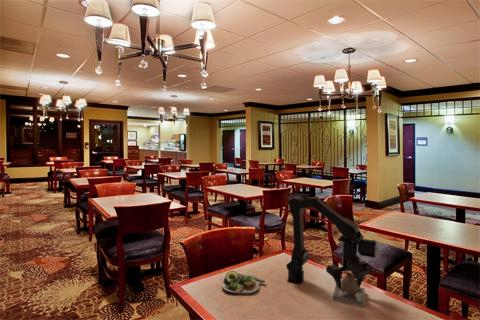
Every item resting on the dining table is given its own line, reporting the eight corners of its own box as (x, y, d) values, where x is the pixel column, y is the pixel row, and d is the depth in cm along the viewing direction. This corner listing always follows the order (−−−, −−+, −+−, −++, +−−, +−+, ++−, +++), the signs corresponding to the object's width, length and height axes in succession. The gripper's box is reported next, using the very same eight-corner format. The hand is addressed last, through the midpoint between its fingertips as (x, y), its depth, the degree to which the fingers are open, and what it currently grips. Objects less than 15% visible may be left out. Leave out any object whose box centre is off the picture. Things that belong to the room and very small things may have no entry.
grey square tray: (332, 299, 117) (332, 295, 117) (335, 286, 128) (335, 282, 128) (363, 307, 112) (363, 302, 112) (364, 292, 123) (364, 288, 123)
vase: (361, 295, 119) (362, 275, 118) (350, 300, 115) (350, 279, 115) (348, 288, 125) (348, 268, 124) (336, 292, 121) (337, 272, 121)
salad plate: (264, 276, 138) (264, 267, 138) (265, 296, 121) (265, 286, 120) (225, 275, 140) (225, 266, 139) (220, 295, 122) (220, 284, 122)
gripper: (341, 262, 109) (340, 301, 110) (382, 257, 113) (381, 295, 114) (325, 251, 120) (325, 287, 121) (364, 247, 124) (363, 282, 125)
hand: (348, 288), depth 120 cm, fingers open, 9 cm apart
